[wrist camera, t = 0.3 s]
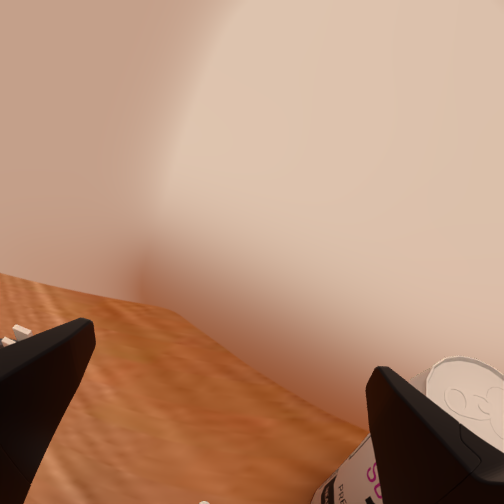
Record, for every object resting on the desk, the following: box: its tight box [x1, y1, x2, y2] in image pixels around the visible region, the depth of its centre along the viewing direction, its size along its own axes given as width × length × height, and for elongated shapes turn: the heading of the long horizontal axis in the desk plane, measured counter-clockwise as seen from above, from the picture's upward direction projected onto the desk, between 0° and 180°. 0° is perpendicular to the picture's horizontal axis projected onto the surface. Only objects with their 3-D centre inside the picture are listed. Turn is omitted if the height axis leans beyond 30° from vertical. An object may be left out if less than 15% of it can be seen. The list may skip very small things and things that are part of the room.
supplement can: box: [311, 356, 504, 504], centre depth 13 cm, size 8×8×15 cm
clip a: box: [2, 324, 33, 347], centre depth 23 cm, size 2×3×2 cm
